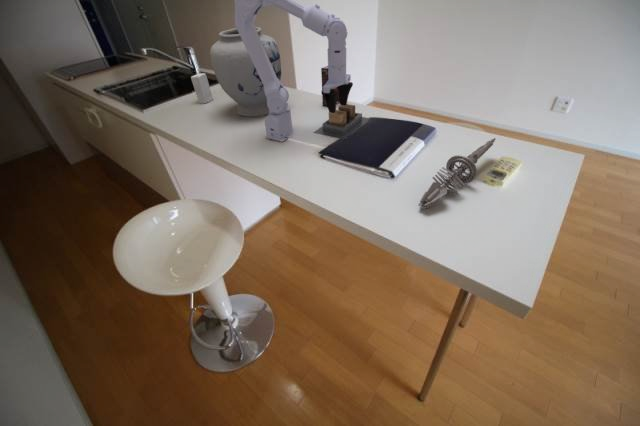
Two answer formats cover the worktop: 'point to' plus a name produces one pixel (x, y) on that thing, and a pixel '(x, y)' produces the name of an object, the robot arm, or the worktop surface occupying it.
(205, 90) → the skincare box
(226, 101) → the worktop surface
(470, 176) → the spaceship
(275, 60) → the white ceramic vase
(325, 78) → the supplement box
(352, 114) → the brown wooden block
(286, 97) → the robot arm
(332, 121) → the oak block
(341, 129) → the board
